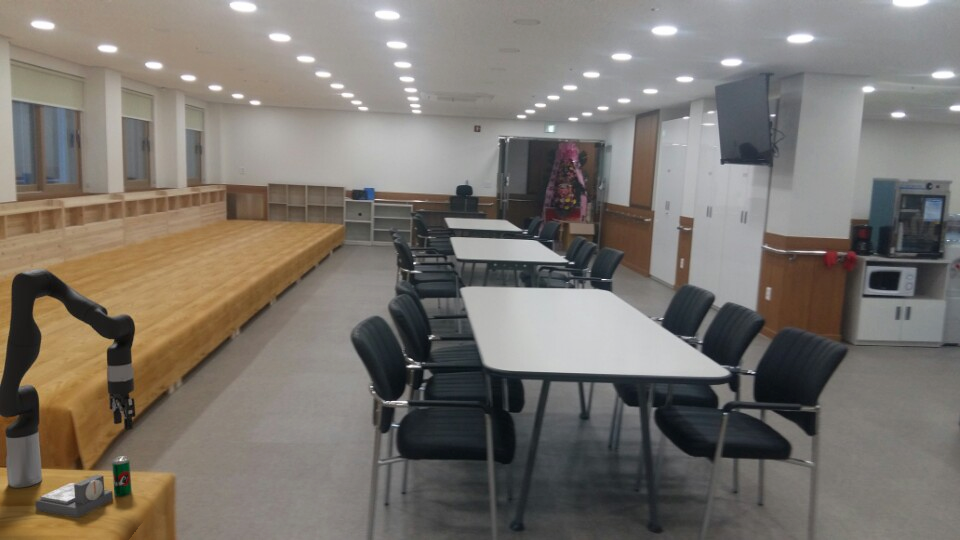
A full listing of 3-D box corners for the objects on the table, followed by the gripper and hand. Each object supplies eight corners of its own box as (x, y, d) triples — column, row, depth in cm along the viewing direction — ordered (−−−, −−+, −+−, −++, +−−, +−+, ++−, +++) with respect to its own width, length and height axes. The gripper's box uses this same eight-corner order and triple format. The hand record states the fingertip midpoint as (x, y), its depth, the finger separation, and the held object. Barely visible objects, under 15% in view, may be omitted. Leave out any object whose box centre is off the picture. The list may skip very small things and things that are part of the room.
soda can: (134, 491, 229) (132, 455, 227) (125, 497, 224) (123, 461, 222) (120, 490, 229) (118, 455, 228) (110, 497, 224) (108, 461, 223)
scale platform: (40, 499, 215) (40, 496, 215) (71, 485, 226) (71, 482, 226) (67, 504, 212) (67, 501, 212) (97, 489, 222) (97, 486, 222)
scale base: (35, 510, 215) (33, 482, 214) (72, 493, 227) (70, 466, 226) (78, 518, 210) (76, 489, 209) (113, 500, 222) (112, 473, 221)
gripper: (99, 375, 224) (102, 424, 226) (116, 383, 214) (119, 434, 216) (123, 371, 229) (126, 418, 231) (141, 379, 220) (144, 428, 222)
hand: (123, 426), depth 224 cm, fingers open, 8 cm apart
